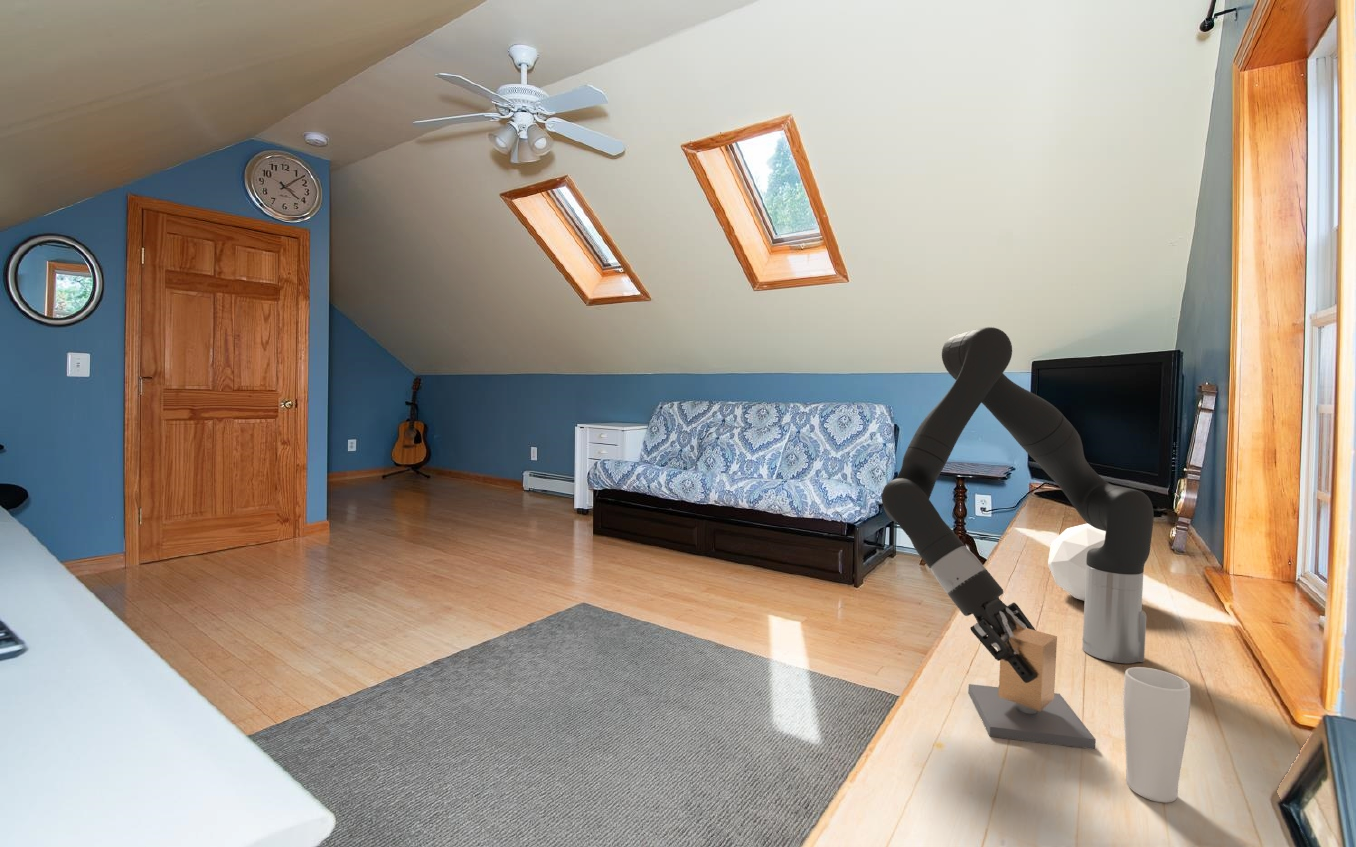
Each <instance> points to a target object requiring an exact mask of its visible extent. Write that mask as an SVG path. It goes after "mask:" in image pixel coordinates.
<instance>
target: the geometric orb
mask: <svg viewBox="0 0 1356 847" xmlns="http://www.w3.org/2000/svg"><path fill="white" fill-rule="evenodd" d="M1105 534H1106V531H1103V530H1100V529H1097V528H1094V527H1093V526H1091V525H1089V524H1088V523H1087V522H1086V523H1084V524H1079V525H1075V526H1071V527H1068V528H1065V530H1063V531H1062V532H1061V533H1060V534H1059V536H1057V537H1056V538H1055V539H1054V540H1053V541H1052V542H1051V543H1050V547H1049V553H1048V563H1047V567H1048V568H1049V571H1050V573H1051V575H1052V577H1053V579H1054V582H1055V584H1056V585H1057V586H1058V587H1060V588H1061V589H1062V590H1064V591H1065V592H1066V593H1068V594H1070V595H1071V596H1072V597H1073V598H1075V599H1076V600H1077V599H1078V600H1080V601H1084V602H1085V582H1086V559H1087V552H1088V551H1089V550H1090V549H1093V548H1100V547H1102V546H1103V545H1104V541H1105Z"/></svg>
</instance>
